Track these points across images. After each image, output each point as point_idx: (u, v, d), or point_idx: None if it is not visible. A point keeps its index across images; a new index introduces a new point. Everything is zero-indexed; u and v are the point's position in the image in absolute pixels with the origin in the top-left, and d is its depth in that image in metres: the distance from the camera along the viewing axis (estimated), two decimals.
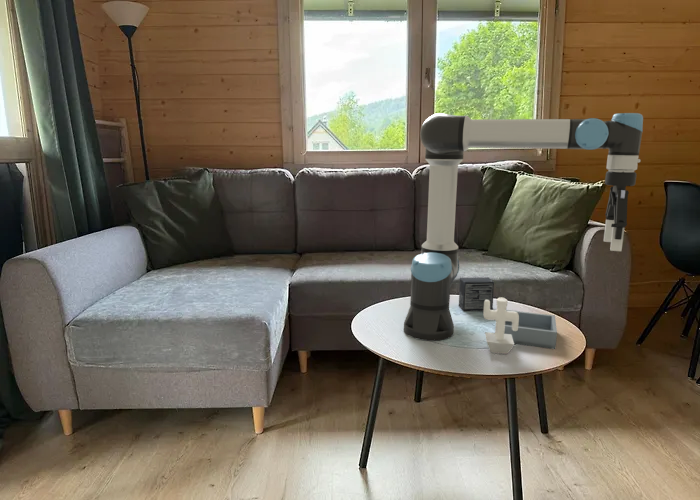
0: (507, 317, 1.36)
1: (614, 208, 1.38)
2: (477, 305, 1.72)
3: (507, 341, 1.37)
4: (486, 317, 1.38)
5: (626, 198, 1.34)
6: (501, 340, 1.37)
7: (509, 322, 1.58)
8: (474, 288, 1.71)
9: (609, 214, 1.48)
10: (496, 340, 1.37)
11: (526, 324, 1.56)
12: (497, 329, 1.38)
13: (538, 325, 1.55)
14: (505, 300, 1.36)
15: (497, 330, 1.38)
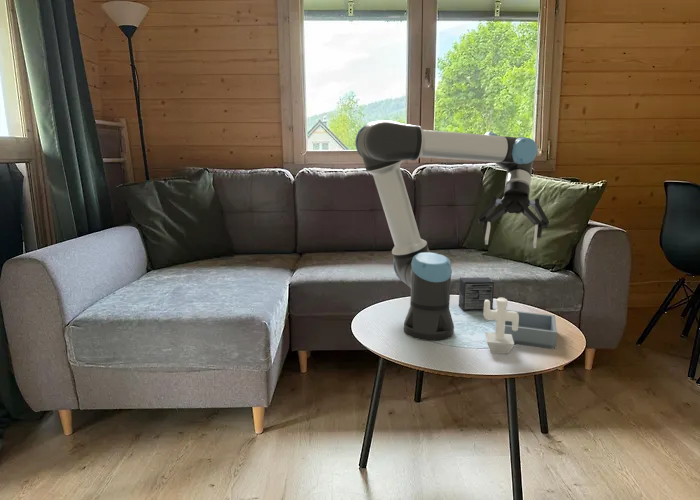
0: (507, 317, 1.36)
1: (528, 211, 1.50)
2: (477, 305, 1.72)
3: (507, 341, 1.37)
4: (486, 317, 1.38)
5: None
6: (501, 340, 1.37)
7: (509, 322, 1.58)
8: (474, 288, 1.71)
9: (492, 218, 1.53)
10: (496, 340, 1.37)
11: (526, 324, 1.56)
12: (497, 329, 1.38)
13: (538, 325, 1.55)
14: (505, 300, 1.36)
15: (497, 330, 1.38)
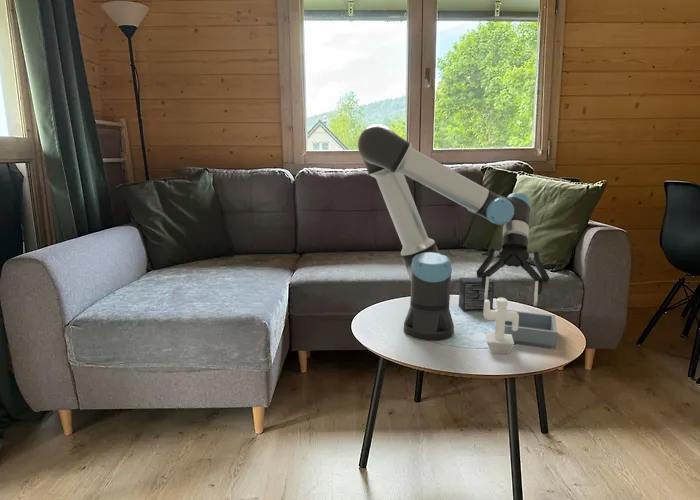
0: (507, 317, 1.36)
1: (528, 266, 1.46)
2: (477, 305, 1.72)
3: (507, 341, 1.37)
4: (486, 317, 1.38)
5: None
6: (501, 340, 1.37)
7: (509, 322, 1.58)
8: (474, 288, 1.71)
9: (490, 272, 1.48)
10: (496, 340, 1.37)
11: (526, 324, 1.56)
12: (497, 329, 1.38)
13: (538, 325, 1.55)
14: (505, 300, 1.36)
15: (497, 330, 1.38)
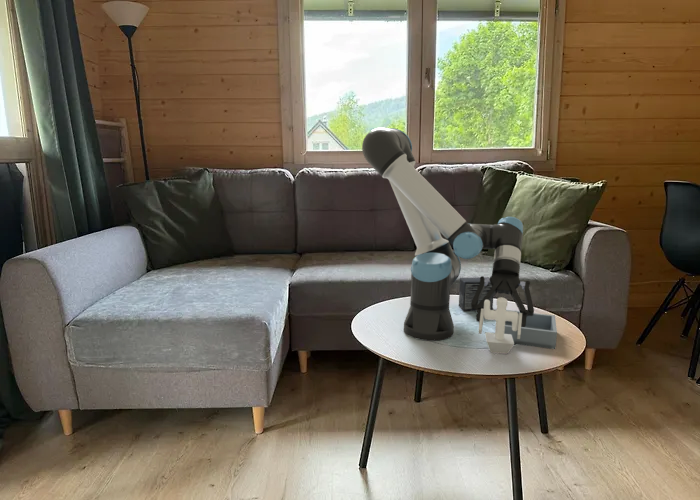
0: (507, 317, 1.36)
1: (516, 295, 1.40)
2: None
3: (507, 341, 1.37)
4: (486, 317, 1.38)
5: None
6: (501, 340, 1.37)
7: (509, 322, 1.58)
8: (474, 288, 1.71)
9: None
10: (496, 340, 1.37)
11: (526, 324, 1.56)
12: (497, 329, 1.38)
13: (538, 325, 1.55)
14: (505, 300, 1.36)
15: (497, 330, 1.38)
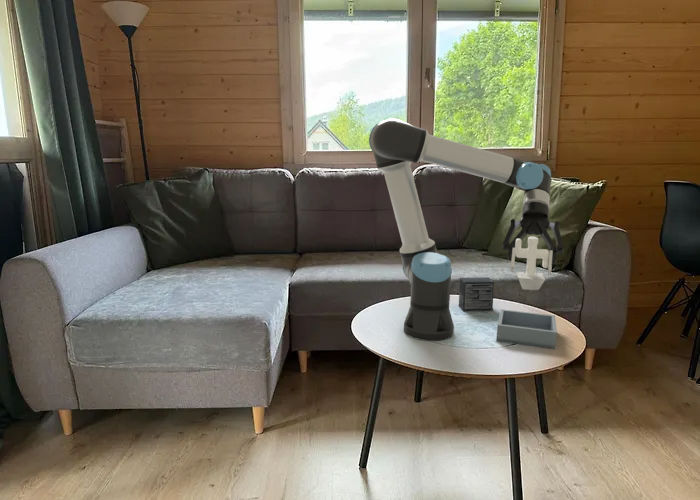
0: (538, 254, 1.43)
1: (546, 234, 1.46)
2: (477, 305, 1.72)
3: (538, 278, 1.43)
4: (518, 255, 1.44)
5: None
6: (532, 277, 1.44)
7: (509, 322, 1.58)
8: (474, 288, 1.71)
9: None
10: (527, 277, 1.44)
11: (526, 324, 1.56)
12: (528, 266, 1.44)
13: (538, 325, 1.55)
14: (536, 238, 1.43)
15: (528, 267, 1.44)
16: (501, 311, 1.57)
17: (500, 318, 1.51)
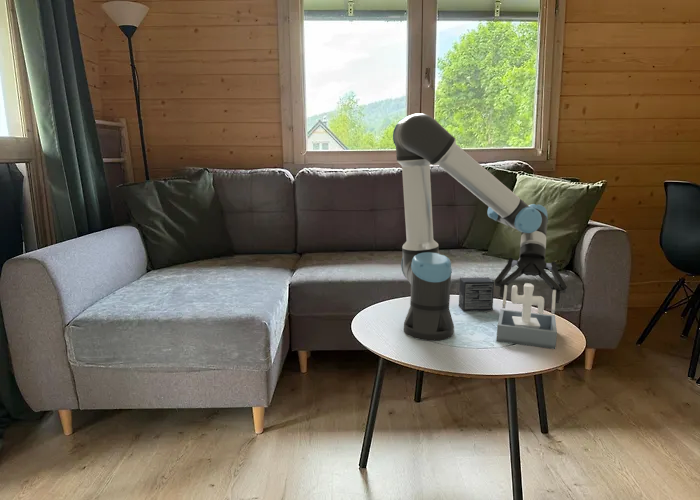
0: (533, 301, 1.47)
1: (546, 275, 1.50)
2: (477, 305, 1.72)
3: (534, 324, 1.47)
4: (514, 301, 1.48)
5: None
6: (528, 323, 1.48)
7: (509, 322, 1.58)
8: (474, 288, 1.71)
9: (509, 281, 1.52)
10: (523, 323, 1.48)
11: None
12: (524, 312, 1.48)
13: None
14: (532, 285, 1.47)
15: (524, 313, 1.48)
16: (501, 311, 1.57)
17: (500, 318, 1.51)
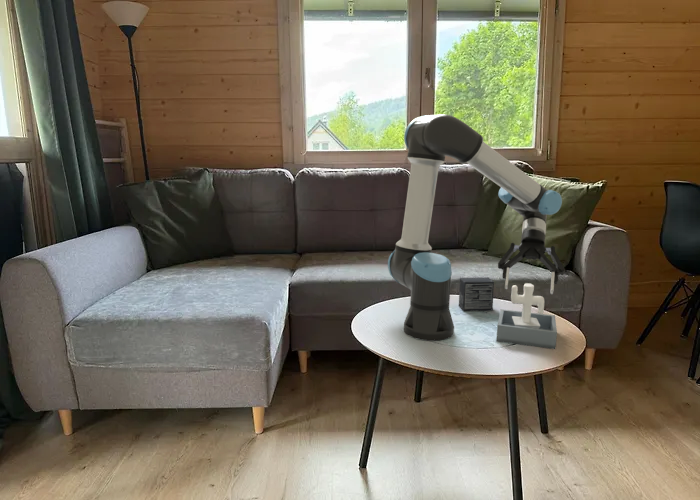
0: (533, 301, 1.47)
1: (545, 258, 1.61)
2: (477, 305, 1.72)
3: (534, 324, 1.47)
4: (514, 301, 1.48)
5: None
6: (528, 323, 1.48)
7: (509, 322, 1.58)
8: (474, 288, 1.71)
9: (511, 264, 1.63)
10: (523, 323, 1.48)
11: None
12: (524, 312, 1.48)
13: None
14: (532, 285, 1.47)
15: (524, 313, 1.48)
16: (501, 311, 1.57)
17: (500, 318, 1.51)
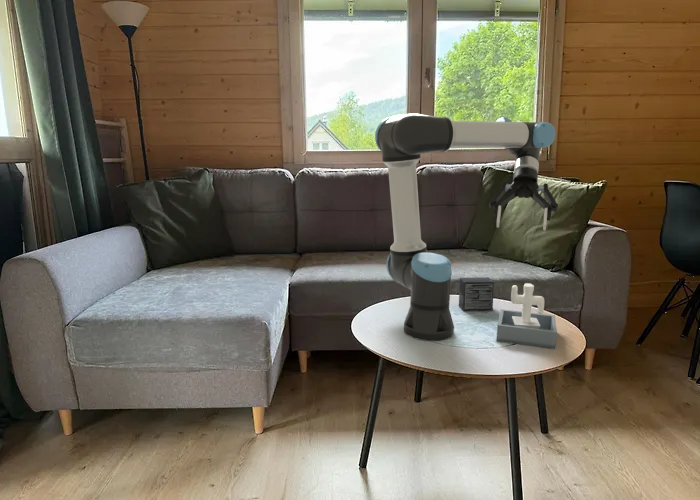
0: (533, 301, 1.47)
1: (538, 195, 1.56)
2: (477, 305, 1.72)
3: (534, 324, 1.47)
4: (514, 301, 1.48)
5: None
6: (528, 323, 1.48)
7: (509, 322, 1.58)
8: (474, 288, 1.71)
9: (502, 202, 1.59)
10: (523, 323, 1.48)
11: None
12: (524, 312, 1.48)
13: None
14: (532, 285, 1.47)
15: (524, 313, 1.48)
16: (501, 311, 1.57)
17: (500, 318, 1.51)
